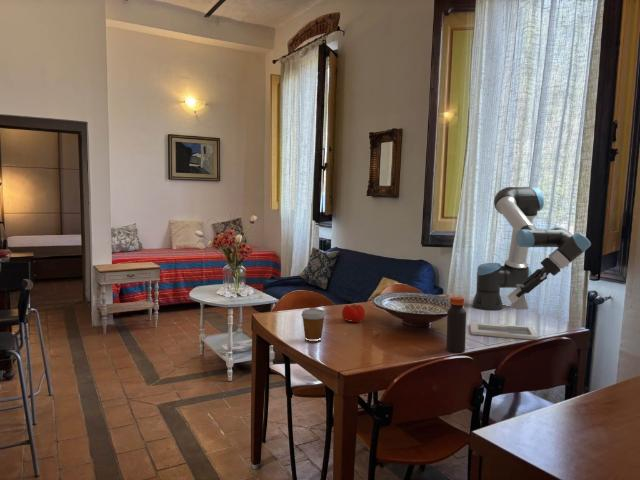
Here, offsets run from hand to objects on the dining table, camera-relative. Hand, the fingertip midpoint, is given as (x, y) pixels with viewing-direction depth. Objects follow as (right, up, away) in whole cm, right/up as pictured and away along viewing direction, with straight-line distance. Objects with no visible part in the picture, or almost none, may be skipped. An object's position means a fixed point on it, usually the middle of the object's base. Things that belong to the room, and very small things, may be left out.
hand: (510, 299), depth 197 cm
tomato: (-65, -13, +19) cm, 69 cm away
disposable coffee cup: (-84, -15, -12) cm, 86 cm away
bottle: (-30, -16, -22) cm, 41 cm away
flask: (+4, -4, -1) cm, 5 cm away
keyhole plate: (-3, -14, +2) cm, 15 cm away
